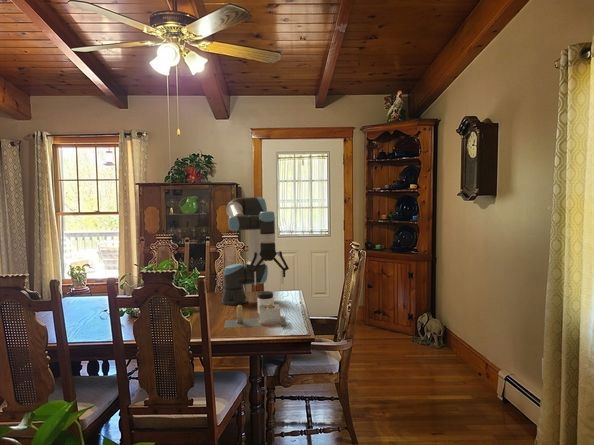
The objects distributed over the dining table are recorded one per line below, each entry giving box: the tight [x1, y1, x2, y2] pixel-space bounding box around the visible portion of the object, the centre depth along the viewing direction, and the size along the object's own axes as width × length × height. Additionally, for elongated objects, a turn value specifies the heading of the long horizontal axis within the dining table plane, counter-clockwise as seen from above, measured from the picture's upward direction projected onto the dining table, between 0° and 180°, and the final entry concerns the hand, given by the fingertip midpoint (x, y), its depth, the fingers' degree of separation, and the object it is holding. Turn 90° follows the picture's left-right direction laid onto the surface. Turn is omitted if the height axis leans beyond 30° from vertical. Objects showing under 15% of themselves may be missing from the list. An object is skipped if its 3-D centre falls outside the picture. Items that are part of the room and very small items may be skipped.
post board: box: [223, 304, 287, 329], centre depth 213 cm, size 30×14×10 cm, turn 96°
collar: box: [259, 303, 281, 324], centre depth 214 cm, size 10×10×7 cm
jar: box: [256, 290, 275, 315], centre depth 231 cm, size 9×8×12 cm
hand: (268, 284), depth 213 cm, fingers open, 13 cm apart
